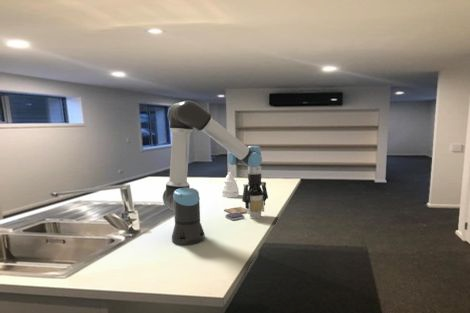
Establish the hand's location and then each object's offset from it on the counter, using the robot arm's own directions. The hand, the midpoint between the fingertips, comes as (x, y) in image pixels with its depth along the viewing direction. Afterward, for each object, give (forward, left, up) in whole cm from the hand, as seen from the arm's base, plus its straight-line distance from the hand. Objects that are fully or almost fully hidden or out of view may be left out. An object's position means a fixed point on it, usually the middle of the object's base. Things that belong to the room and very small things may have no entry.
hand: (255, 212), depth 182 cm
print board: (-3, +16, -2) cm, 16 cm away
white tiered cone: (+15, +58, -3) cm, 60 cm away
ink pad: (-11, +5, -2) cm, 12 cm away
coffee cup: (0, 0, -3) cm, 3 cm away
